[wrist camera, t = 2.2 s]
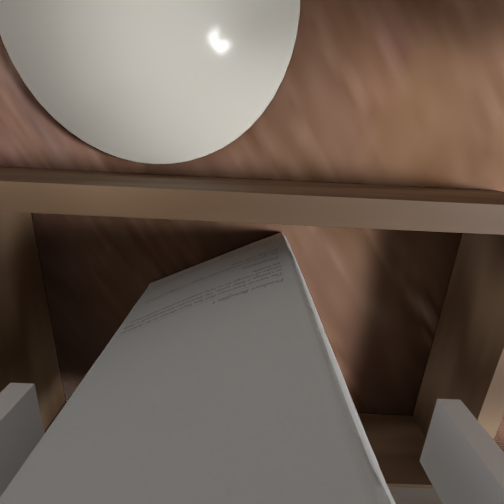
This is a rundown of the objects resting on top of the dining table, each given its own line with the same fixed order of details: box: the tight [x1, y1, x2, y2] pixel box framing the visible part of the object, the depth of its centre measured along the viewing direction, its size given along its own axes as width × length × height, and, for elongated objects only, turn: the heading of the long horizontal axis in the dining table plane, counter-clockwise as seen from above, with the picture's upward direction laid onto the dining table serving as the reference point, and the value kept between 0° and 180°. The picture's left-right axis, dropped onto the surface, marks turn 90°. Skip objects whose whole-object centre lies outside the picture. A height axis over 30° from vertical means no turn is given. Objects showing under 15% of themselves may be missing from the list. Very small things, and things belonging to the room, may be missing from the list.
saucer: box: [0, 0, 300, 164], centre depth 12 cm, size 11×11×1 cm
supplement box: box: [0, 232, 396, 504], centre depth 11 cm, size 7×7×13 cm
